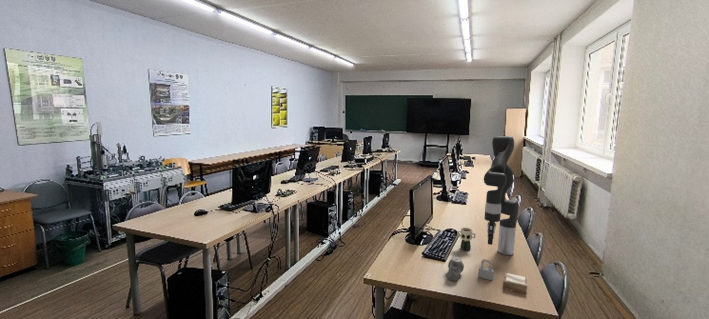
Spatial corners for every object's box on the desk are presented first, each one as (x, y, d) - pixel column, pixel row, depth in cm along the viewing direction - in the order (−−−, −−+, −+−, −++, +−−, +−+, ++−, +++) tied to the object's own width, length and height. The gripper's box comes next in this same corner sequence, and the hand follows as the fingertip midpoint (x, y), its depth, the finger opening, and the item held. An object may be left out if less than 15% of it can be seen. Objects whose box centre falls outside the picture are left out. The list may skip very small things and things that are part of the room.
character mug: (455, 249, 208) (456, 229, 206) (457, 245, 214) (458, 226, 212) (474, 252, 203) (475, 232, 202) (474, 248, 210) (476, 229, 208)
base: (504, 279, 171) (505, 272, 170) (526, 284, 166) (526, 276, 166) (503, 288, 162) (504, 280, 161) (526, 294, 157) (527, 285, 157)
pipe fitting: (448, 268, 181) (450, 252, 178) (463, 273, 178) (465, 256, 175) (443, 281, 171) (445, 263, 168) (459, 286, 167) (461, 268, 164)
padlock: (493, 277, 173) (494, 259, 171) (492, 281, 169) (493, 262, 168) (479, 274, 177) (480, 256, 175) (477, 277, 173) (479, 259, 172)
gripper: (486, 206, 175) (483, 235, 177) (483, 213, 162) (481, 245, 165) (501, 208, 172) (499, 238, 174) (500, 216, 159) (497, 247, 161)
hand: (490, 241), depth 169 cm, fingers open, 8 cm apart
